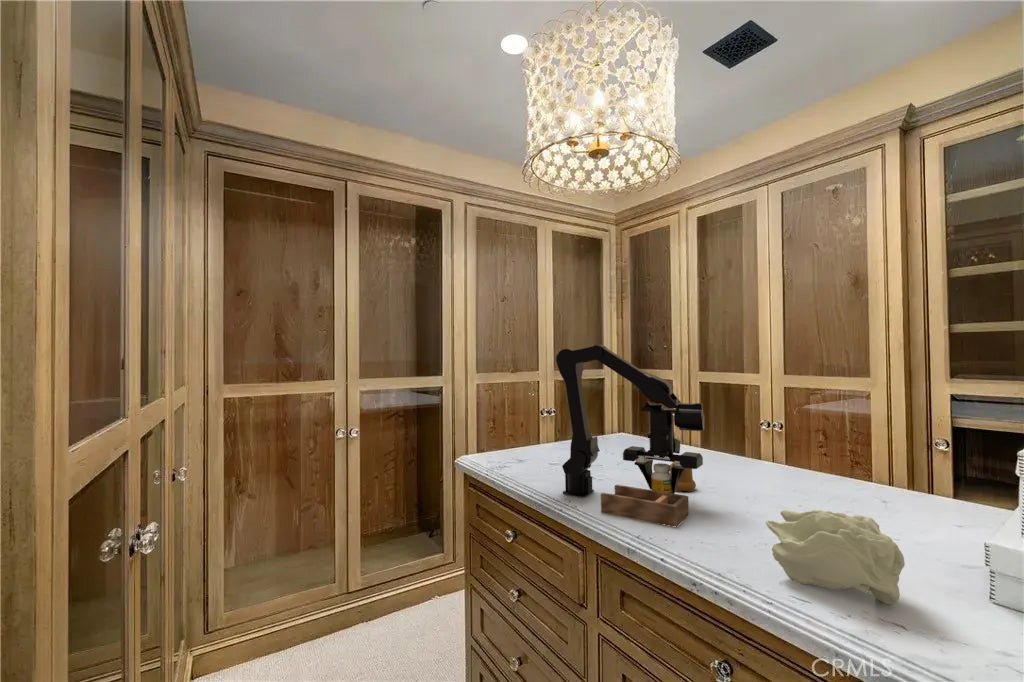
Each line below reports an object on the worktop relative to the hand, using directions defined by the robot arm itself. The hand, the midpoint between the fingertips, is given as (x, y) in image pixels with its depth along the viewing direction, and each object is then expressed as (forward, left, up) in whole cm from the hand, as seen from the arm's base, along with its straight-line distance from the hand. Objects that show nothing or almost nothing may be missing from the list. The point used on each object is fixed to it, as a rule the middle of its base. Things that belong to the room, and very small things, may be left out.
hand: (662, 491), depth 121 cm
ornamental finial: (0, +15, -3) cm, 15 cm away
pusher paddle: (+3, -10, -2) cm, 11 cm away
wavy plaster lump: (+37, -26, -3) cm, 45 cm away
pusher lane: (-1, -10, -3) cm, 10 cm away
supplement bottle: (0, 0, -3) cm, 3 cm away
